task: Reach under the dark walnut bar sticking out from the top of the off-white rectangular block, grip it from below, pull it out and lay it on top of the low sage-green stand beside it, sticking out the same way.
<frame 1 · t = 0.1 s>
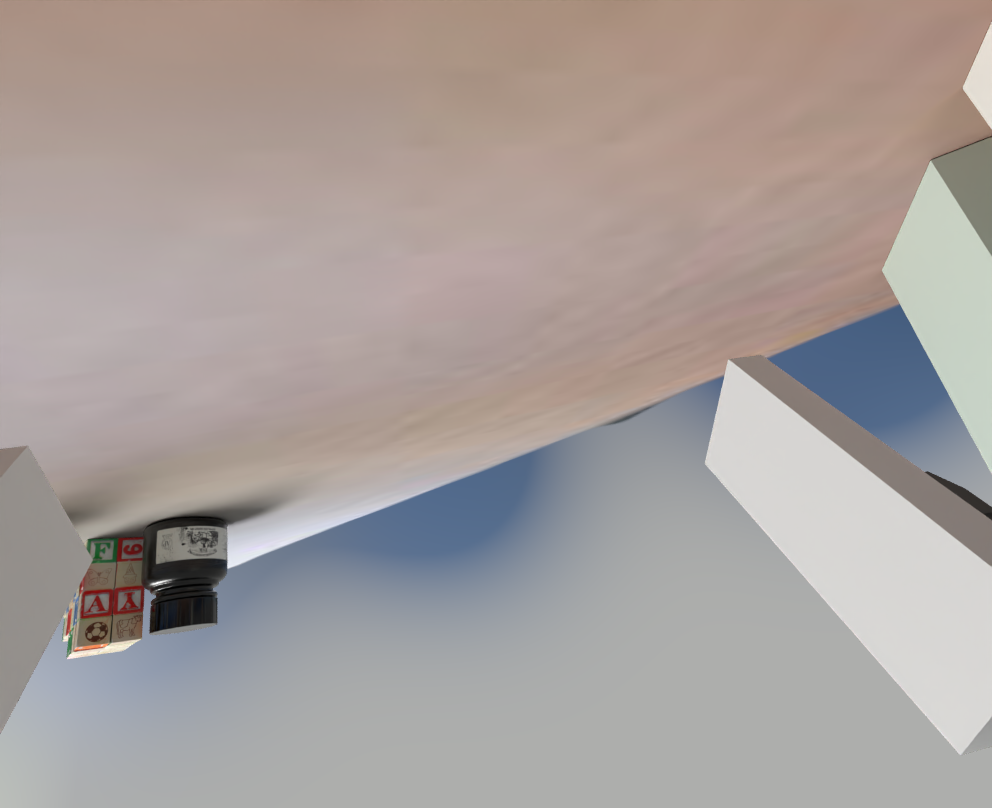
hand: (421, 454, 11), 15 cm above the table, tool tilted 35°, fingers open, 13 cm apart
stack of blocks: (104, 554, 75), on the table
ink bottle: (186, 523, 68), on the table
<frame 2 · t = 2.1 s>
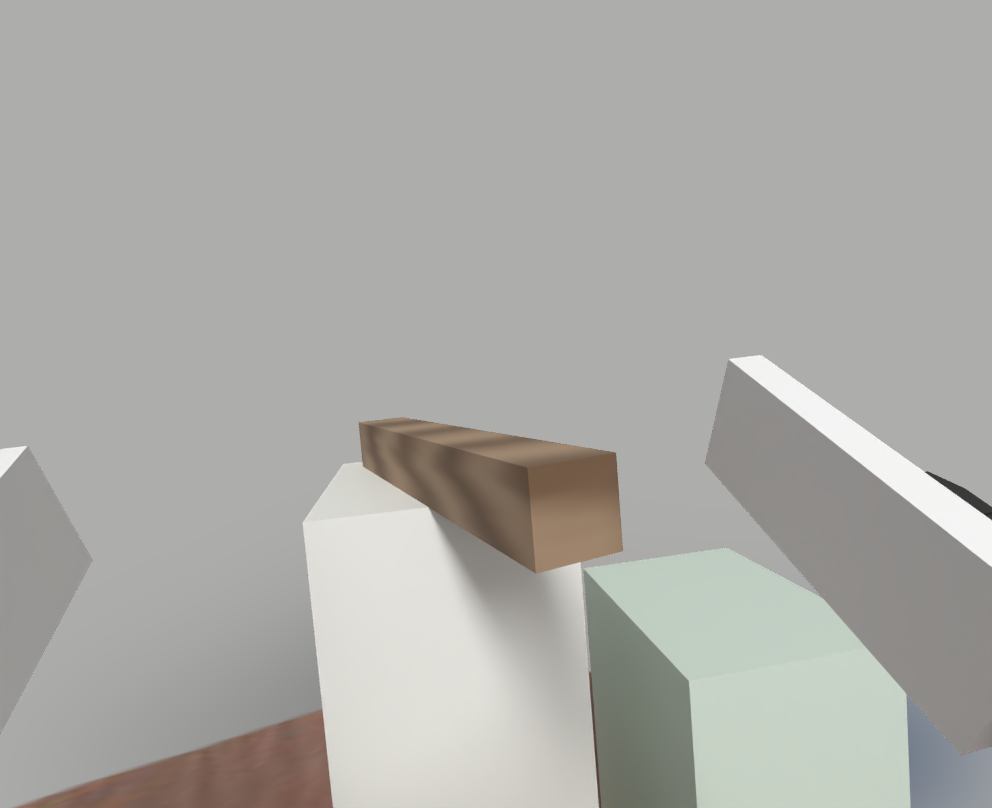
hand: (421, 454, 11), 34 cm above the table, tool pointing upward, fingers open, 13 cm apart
walnut bar: (443, 492, 27), point 30 cm above the table, touching off-white rectangular block
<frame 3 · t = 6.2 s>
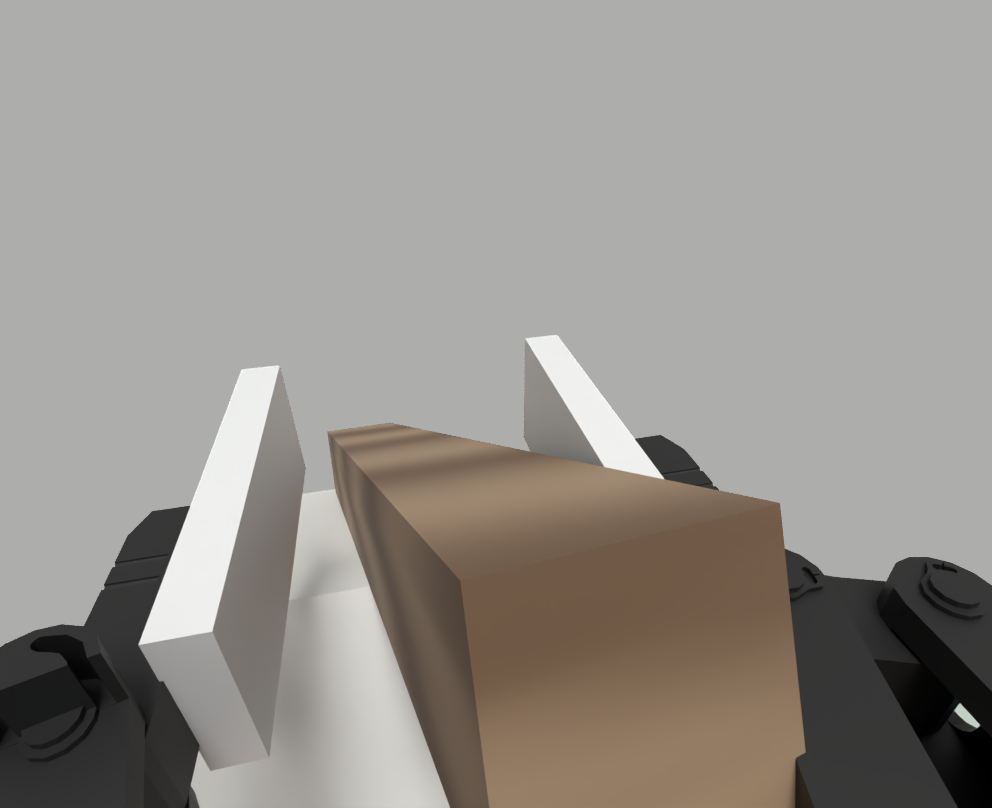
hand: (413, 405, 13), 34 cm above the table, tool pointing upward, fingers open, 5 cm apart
walnut bar: (412, 545, 16), point 30 cm above the table
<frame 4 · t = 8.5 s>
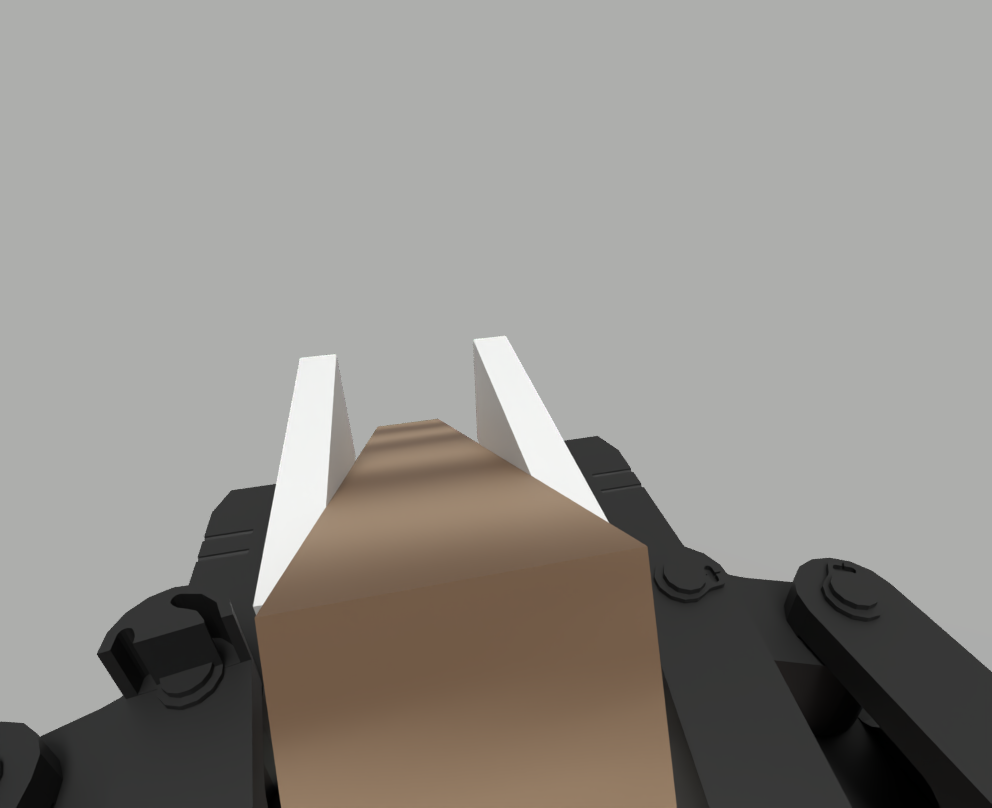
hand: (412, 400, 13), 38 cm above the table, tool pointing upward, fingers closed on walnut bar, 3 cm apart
walnut bar: (428, 545, 16), point 34 cm above the table, touching gripper
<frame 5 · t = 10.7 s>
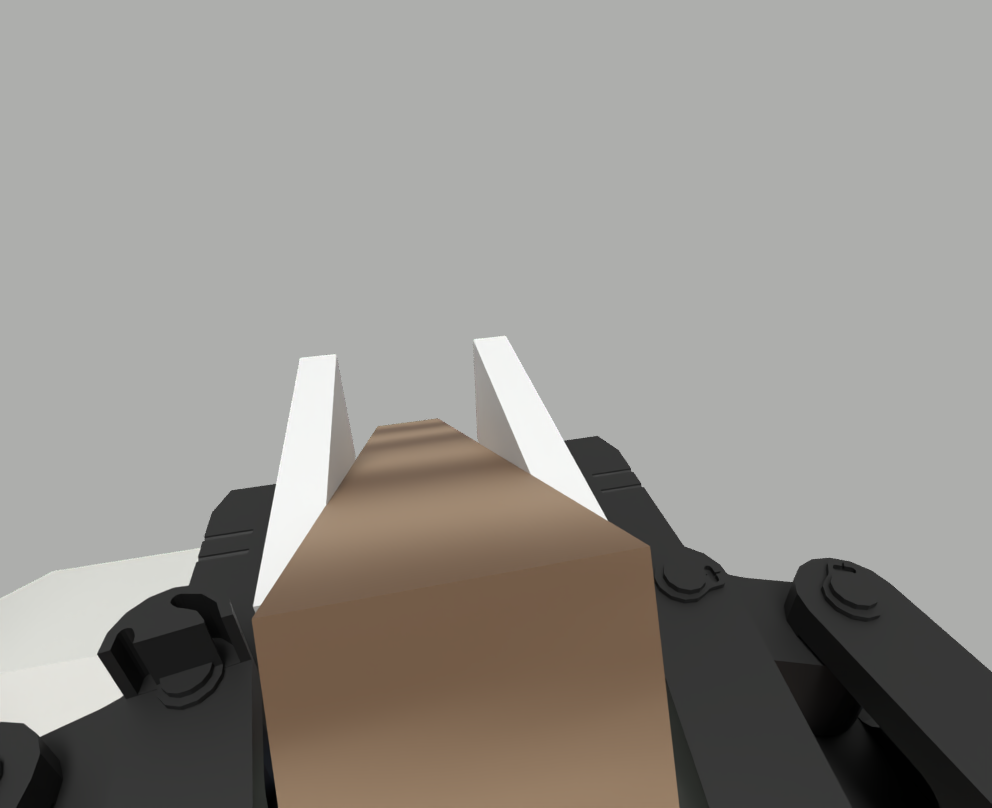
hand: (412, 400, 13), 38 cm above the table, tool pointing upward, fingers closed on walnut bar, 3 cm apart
walnut bar: (428, 545, 16), point 34 cm above the table, touching gripper
when the fingers open (25 cm above the table, at t = 14.5 s): walnut bar stays where it is, resting on low stand.
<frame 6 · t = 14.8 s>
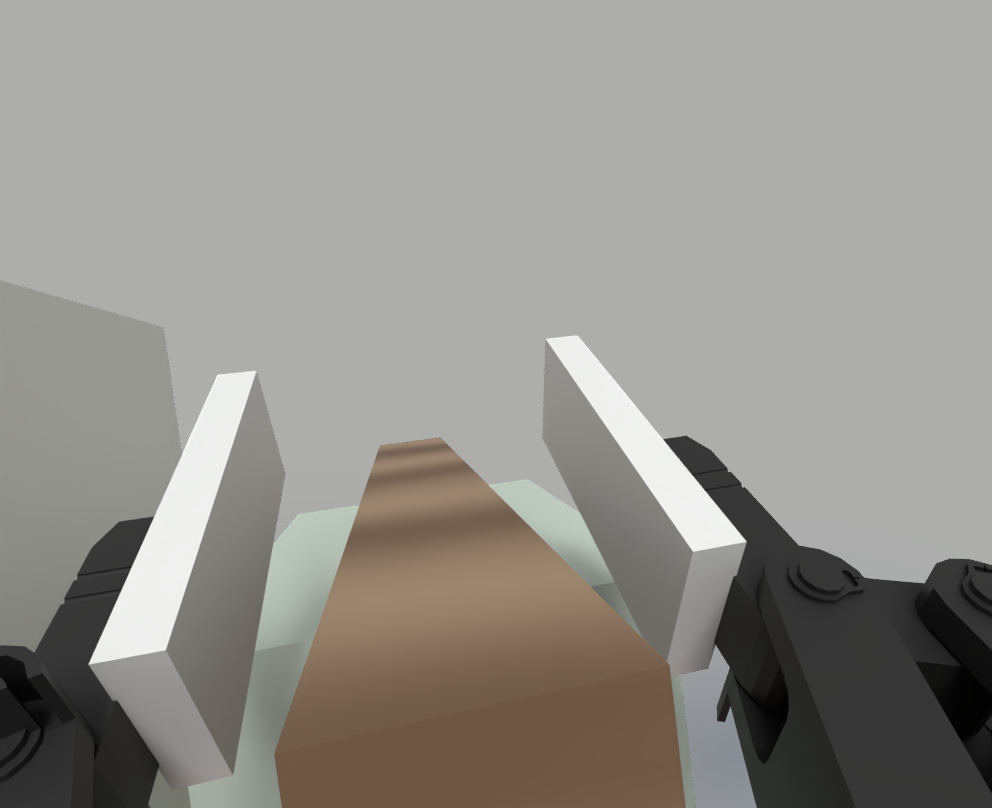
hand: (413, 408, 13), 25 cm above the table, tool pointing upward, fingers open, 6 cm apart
walnut bar: (433, 578, 16), point 20 cm above the table, touching low stand
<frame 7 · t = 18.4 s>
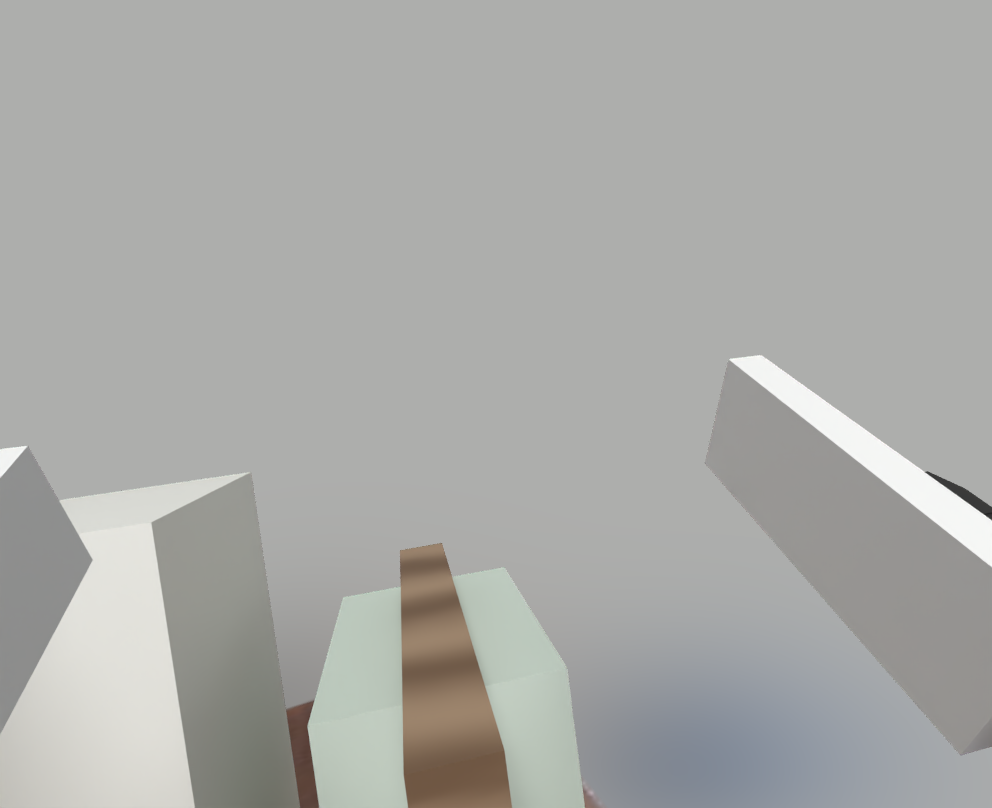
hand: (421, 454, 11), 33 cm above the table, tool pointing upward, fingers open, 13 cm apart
walnut bar: (438, 666, 28), point 20 cm above the table, touching low stand
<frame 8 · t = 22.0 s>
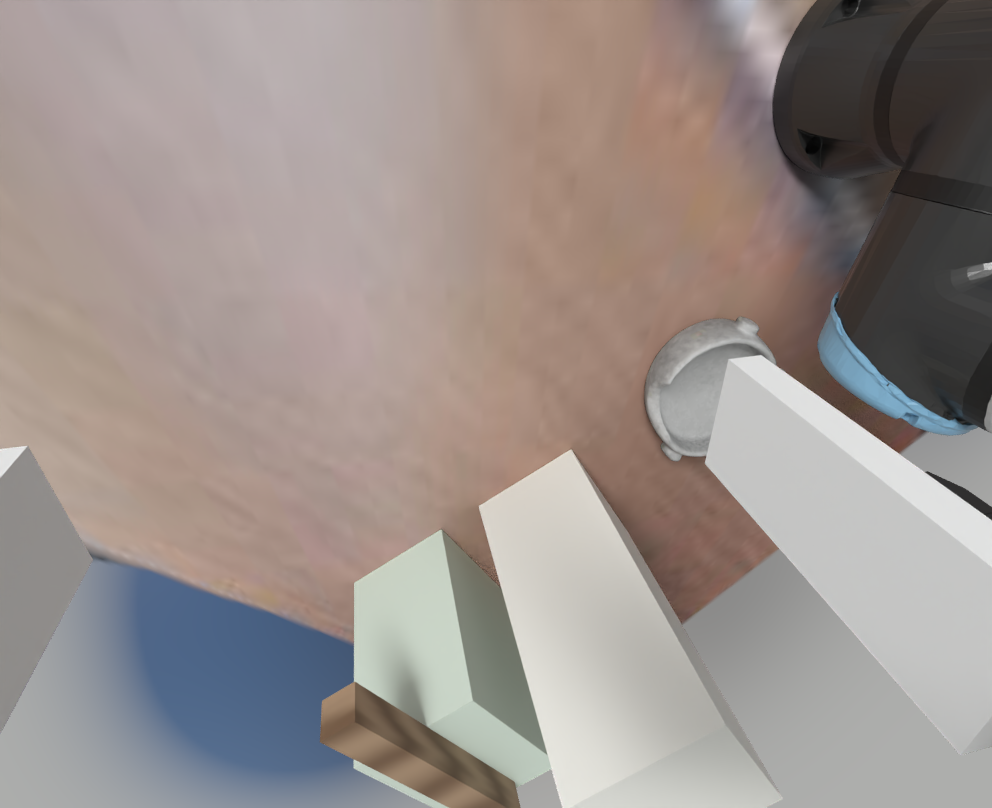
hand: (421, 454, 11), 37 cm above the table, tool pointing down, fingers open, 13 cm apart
walnut bar: (431, 746, 47), point 20 cm above the table, touching low stand
off-white rectangular block: (556, 519, 65), on the table
dish: (697, 374, 59), on the table
low stand: (437, 591, 67), on the table
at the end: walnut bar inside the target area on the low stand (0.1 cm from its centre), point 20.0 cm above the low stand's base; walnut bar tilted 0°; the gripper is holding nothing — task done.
